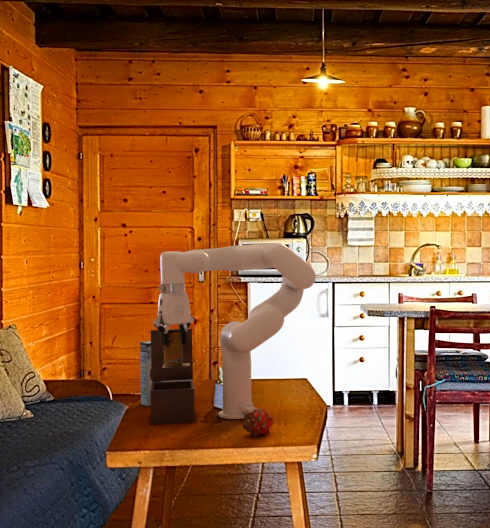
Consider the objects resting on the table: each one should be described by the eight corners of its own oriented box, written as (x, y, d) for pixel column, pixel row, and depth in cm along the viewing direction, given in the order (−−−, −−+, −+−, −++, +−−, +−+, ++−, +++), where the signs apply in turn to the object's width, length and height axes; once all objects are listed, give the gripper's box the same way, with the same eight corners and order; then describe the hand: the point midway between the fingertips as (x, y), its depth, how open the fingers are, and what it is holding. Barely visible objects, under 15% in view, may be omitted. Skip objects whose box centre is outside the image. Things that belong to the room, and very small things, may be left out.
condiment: (163, 365, 278) (162, 328, 277) (190, 363, 279) (188, 327, 279) (161, 368, 271) (160, 331, 270) (188, 367, 272) (187, 330, 271)
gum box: (186, 397, 319) (185, 337, 318) (194, 399, 315) (193, 338, 314) (140, 404, 305) (139, 341, 305) (147, 406, 302) (146, 342, 301)
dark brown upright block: (192, 329, 288) (191, 326, 293) (150, 330, 285) (150, 327, 290) (192, 379, 290) (192, 376, 295) (151, 381, 287) (151, 377, 292)
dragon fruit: (249, 445, 248) (261, 441, 260) (272, 428, 247) (283, 425, 259) (233, 420, 249) (246, 418, 261) (256, 404, 249) (267, 402, 261)
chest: (194, 422, 274) (194, 388, 274) (151, 424, 271) (150, 390, 271) (193, 412, 290) (192, 380, 290) (152, 414, 287) (151, 382, 287)
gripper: (157, 291, 265) (159, 348, 265) (201, 288, 278) (202, 342, 278) (143, 290, 269) (145, 346, 270) (187, 287, 283) (188, 341, 283)
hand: (174, 344), depth 274 cm, fingers closed on condiment, 6 cm apart
